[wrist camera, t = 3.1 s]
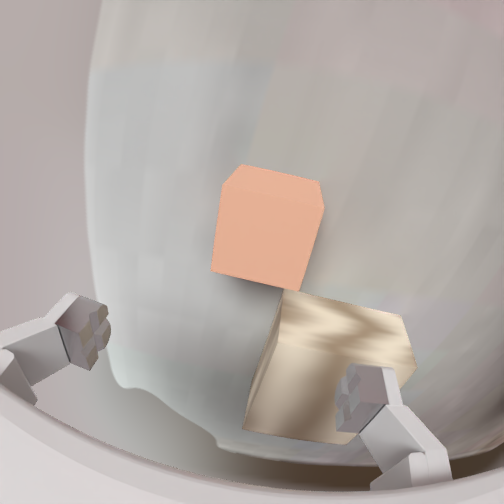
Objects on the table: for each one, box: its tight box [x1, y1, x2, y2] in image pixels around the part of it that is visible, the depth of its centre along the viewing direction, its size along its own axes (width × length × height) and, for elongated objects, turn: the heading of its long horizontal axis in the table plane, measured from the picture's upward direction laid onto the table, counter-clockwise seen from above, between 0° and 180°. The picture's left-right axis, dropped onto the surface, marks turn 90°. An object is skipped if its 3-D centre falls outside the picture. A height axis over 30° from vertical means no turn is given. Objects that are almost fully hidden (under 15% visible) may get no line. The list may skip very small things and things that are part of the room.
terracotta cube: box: [211, 164, 324, 292], centre depth 18 cm, size 5×5×5 cm
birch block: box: [242, 288, 418, 445], centre depth 23 cm, size 10×12×6 cm
